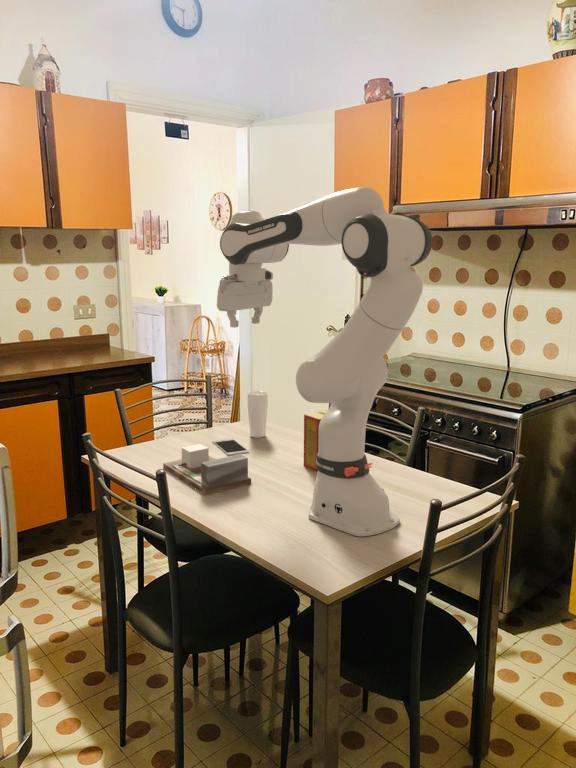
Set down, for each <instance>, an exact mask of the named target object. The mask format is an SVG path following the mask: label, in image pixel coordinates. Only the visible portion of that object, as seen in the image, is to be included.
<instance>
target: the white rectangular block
mask: <svg viewBox="0 0 576 768" xmlns="http://www.w3.org/2000/svg"><path fill="white" fill-rule="evenodd" d="M209 456H210V455H209V447H207V446H205V445H203V444H201V443H196V444H192V445H188V446H183V447H181V459H182V464H178V466H183V465H184V466H186V467H188V468H190V469H192V468H197V467H201V463H202V462H206V461H209Z"/></svg>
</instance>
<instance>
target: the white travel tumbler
mask: <svg viewBox="0 0 576 768" xmlns="http://www.w3.org/2000/svg"><path fill="white" fill-rule="evenodd" d="M268 402H269V400H268V392H267V391H263V390H253V391H248V392H247V411H248V414H247V415H248V421H249V422H248V423H249V425H248V426H249V435H250V437H252V438H256V439H257V438H264V437H265V436H266V434H267V417H268V406H269V404H268Z"/></svg>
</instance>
